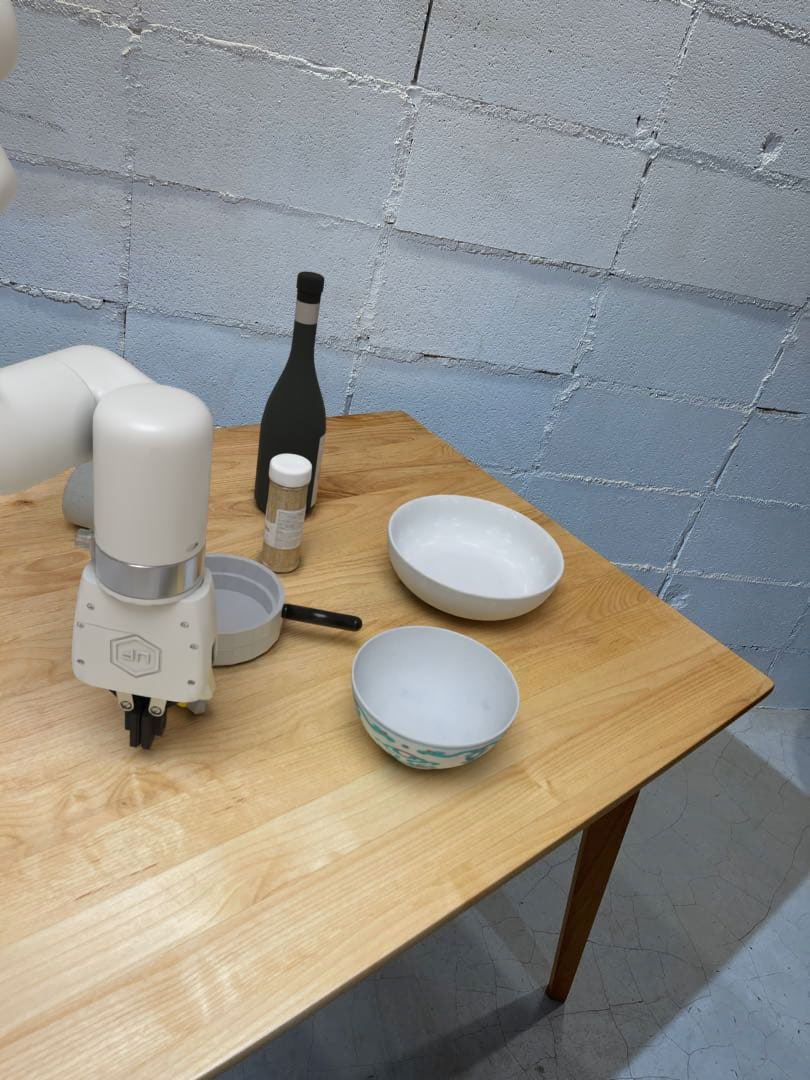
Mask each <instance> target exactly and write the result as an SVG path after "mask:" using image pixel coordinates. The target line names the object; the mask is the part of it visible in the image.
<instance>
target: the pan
mask: <svg viewBox="0 0 810 1080" xmlns="http://www.w3.org/2000/svg"><path fill="white" fill-rule="evenodd" d="M204 566H205V567H207V568H209V569H210V571H211V574H212V579H213V583H214V589H215V596H216V604H217V619H218V646H217V657H216V661H215V664H214V666H215V667H216V666H231V665H236V664H239V663H243V662H247V661H251V660H253V659H255V658H257V657H260V655H262V654H264V653H266V652H268V651H269V650H270V649H271V648H272V647H273V645H275V643H276V642H277V641H278V640H279V637H280V635H281V631H282V628H283V621H284V619H283V618H282V617H281V615H282V609H283V605H284V604H286V592H285V591H286V590H285V588H284V587H285V586H284V584H283V582H282V581H281V579H280V578H279V577H278V576H277V574H276V572H275V571H271V570H270V569H268V568H267V567H265V566H264V565H263V564H262V563H261V562H258V561H256V560H253V559H250V558H248V557H246V556H241V555H237V554H236V555H235V554H230V553H223V552H221V553H220V552H217V553H216V552H205V563H204Z"/></svg>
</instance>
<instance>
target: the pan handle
mask: <svg viewBox="0 0 810 1080" xmlns="http://www.w3.org/2000/svg"><path fill="white" fill-rule="evenodd" d="M281 617H282V618H283V620H288V621H292V622H298V623H299V622H300V623H305V624H308V625H314V626H320V627H325V628H331V629H336V630H343V631H347V632H352V633H356V632H359V631H360V630H361V629H362V628H363V625H364V623H363V620H362V618H361V617H359V616H357V615H352V614H348V613H341V612H337V611H331V610H325V609H319V608H315V607H310V606H303V605H298V604H292V603H286V602H285V604H284V605H283V609H282V615H281Z"/></svg>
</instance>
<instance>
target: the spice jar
mask: <svg viewBox="0 0 810 1080" xmlns="http://www.w3.org/2000/svg"><path fill="white" fill-rule="evenodd" d="M311 473H312V465H311V463H310V461H309V460H307V459H306V458H304V457H302V456H299V455H295V454H280V455H277V456H275V457H273V458H272V459H271V461H270V468H269V477H270V485H269V493H268V502H267V508H266V512H265V518H264V527H263V537H262V538H263V542H262V551H261V555H260V563H261V564H263V565H264V566H265V567H267V568H268V569H270V570H271V571H273V572H274V573H289V572H292V571H294V570H296V569H297V568H298V567H299V564H300V559H299V555H300V548H301V543H302V538H303V532H304V524H305V518H306V515H305V511H306V498H307V491H308V485H309V482H310V480H311Z"/></svg>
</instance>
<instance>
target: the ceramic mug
mask: <svg viewBox="0 0 810 1080" xmlns="http://www.w3.org/2000/svg"><path fill="white" fill-rule="evenodd" d="M61 508H62V514H63V516H64V518H65V520H66V521H67V522H69V523H70V524H72V525H76V526H80V527H83V528H85V529H88V530H90V529H94V491H93V462H88V463H82V464H80V465H78V466H76V467H74V469H73V471H72V472H71V473H70V475H69V477H68V479H67V481H66V484H65V486H64V489H63V494H62V503H61Z"/></svg>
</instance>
